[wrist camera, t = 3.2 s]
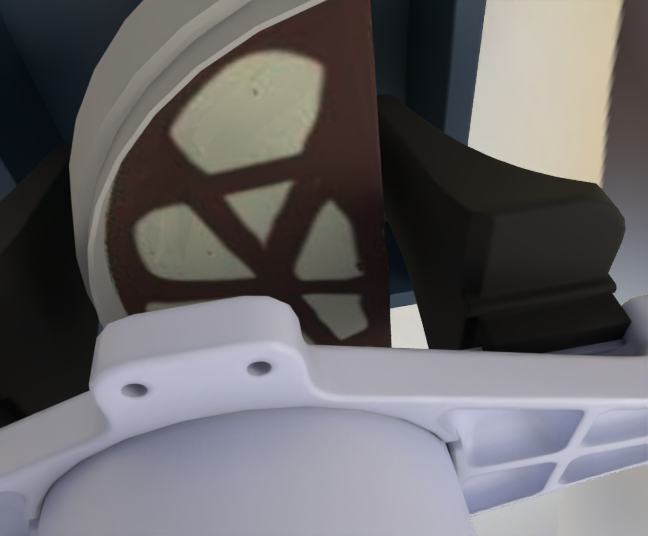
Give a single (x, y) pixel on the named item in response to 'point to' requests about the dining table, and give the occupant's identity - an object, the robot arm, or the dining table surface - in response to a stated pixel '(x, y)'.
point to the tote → (118, 3)
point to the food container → (236, 165)
